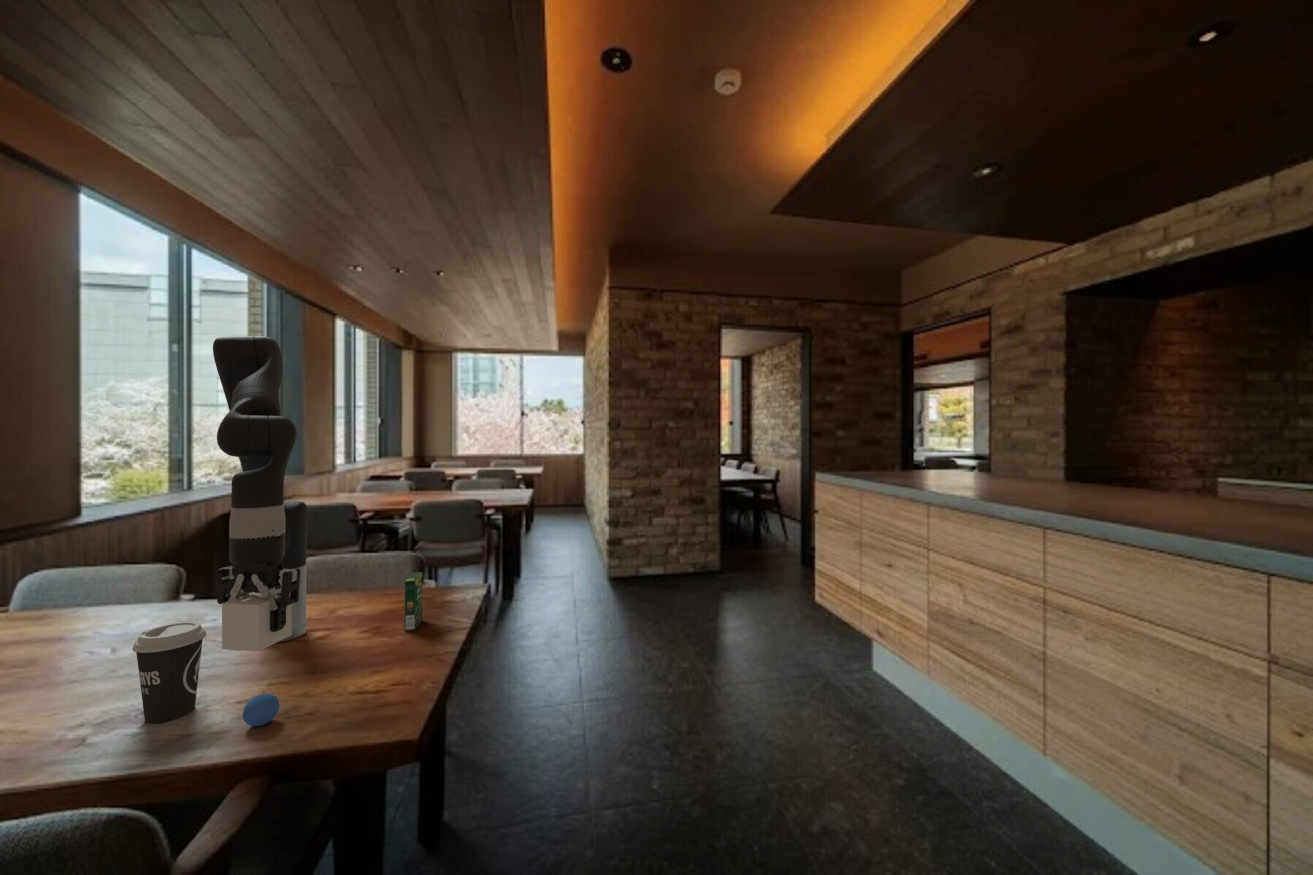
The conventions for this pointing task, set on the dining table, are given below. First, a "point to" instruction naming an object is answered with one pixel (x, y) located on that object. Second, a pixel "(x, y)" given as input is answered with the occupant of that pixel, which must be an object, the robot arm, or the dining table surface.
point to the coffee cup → (169, 669)
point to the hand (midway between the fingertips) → (257, 629)
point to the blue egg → (261, 709)
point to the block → (251, 624)
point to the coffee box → (413, 601)
